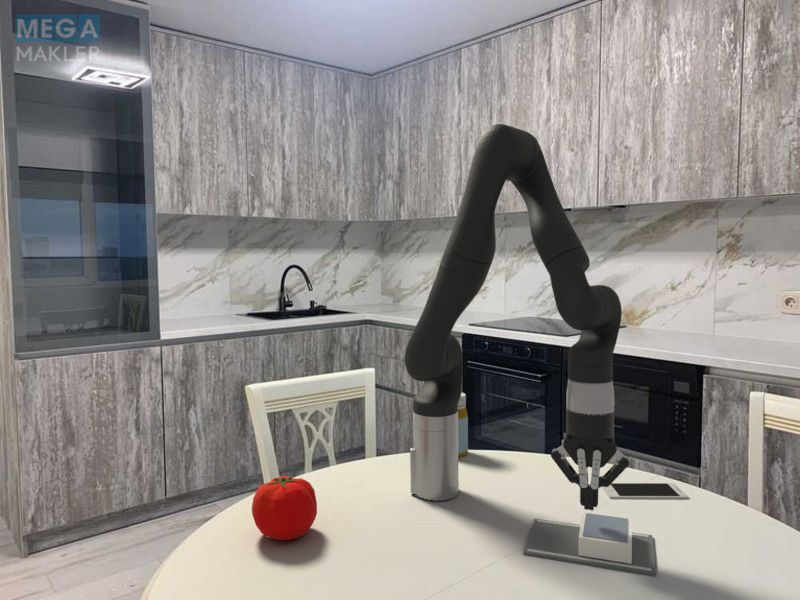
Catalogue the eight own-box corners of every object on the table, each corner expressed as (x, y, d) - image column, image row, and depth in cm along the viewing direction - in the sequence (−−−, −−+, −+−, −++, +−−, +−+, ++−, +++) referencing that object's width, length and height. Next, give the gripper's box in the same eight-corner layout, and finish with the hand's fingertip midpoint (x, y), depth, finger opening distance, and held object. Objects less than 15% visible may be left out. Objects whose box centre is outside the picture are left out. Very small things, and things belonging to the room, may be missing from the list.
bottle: (470, 450, 148) (470, 391, 147) (464, 460, 142) (463, 398, 141) (443, 448, 151) (442, 390, 149) (436, 457, 144) (435, 396, 143)
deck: (578, 536, 95) (631, 544, 92) (582, 511, 104) (631, 517, 102) (578, 556, 95) (631, 564, 93) (582, 529, 105) (631, 536, 102)
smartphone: (599, 486, 126) (599, 482, 125) (674, 486, 125) (674, 482, 125) (609, 500, 118) (609, 496, 118) (688, 501, 118) (688, 496, 118)
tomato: (329, 539, 103) (327, 481, 103) (265, 557, 98) (263, 496, 97) (303, 514, 114) (301, 461, 113) (244, 529, 108) (242, 474, 107)
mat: (523, 554, 97) (523, 551, 97) (534, 520, 109) (534, 518, 109) (655, 576, 90) (655, 572, 90) (652, 537, 102) (652, 534, 102)
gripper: (546, 409, 97) (546, 511, 98) (633, 415, 92) (631, 523, 93) (551, 398, 104) (551, 494, 105) (632, 403, 99) (631, 504, 100)
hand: (589, 508), depth 99 cm, fingers closed
